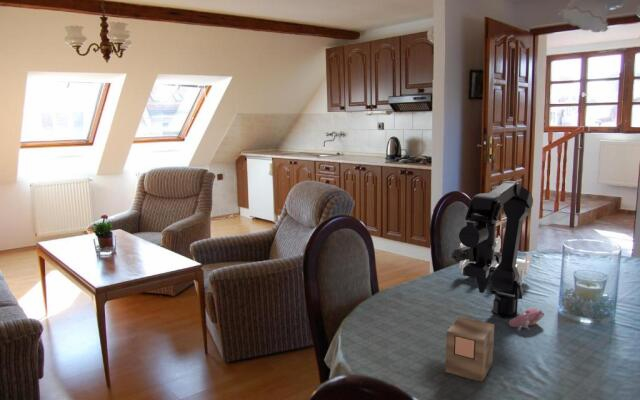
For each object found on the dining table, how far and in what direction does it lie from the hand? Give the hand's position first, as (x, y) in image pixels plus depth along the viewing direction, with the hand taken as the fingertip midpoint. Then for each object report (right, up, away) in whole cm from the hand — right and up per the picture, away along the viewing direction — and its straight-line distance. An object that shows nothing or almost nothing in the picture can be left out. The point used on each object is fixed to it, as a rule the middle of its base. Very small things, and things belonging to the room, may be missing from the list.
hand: (481, 292), depth 142 cm
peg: (-8, -11, -17) cm, 22 cm away
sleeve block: (-8, -16, -16) cm, 24 cm away
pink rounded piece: (+16, -12, +8) cm, 22 cm away
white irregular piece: (+20, -5, +48) cm, 52 cm away
